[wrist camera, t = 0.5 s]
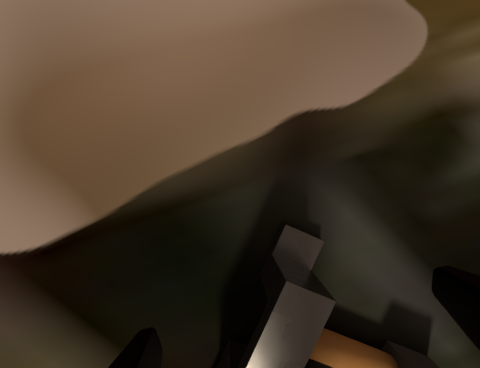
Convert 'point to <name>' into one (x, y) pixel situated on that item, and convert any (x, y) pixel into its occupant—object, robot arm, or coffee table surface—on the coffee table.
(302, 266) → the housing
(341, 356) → the plug
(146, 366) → the robot arm
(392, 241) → the coffee table surface
